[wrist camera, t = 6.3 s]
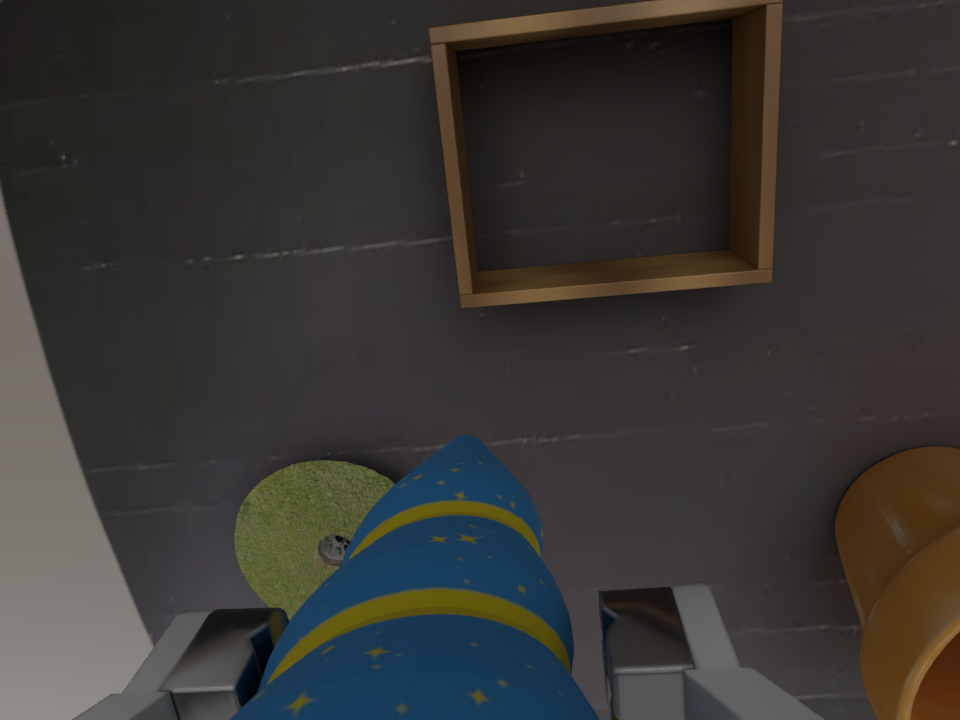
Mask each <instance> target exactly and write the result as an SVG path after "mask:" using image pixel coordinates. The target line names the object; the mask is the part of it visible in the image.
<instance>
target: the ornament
mask: <svg viewBox="0 0 960 720" xmlns="http://www.w3.org/2000/svg"><path fill="white" fill-rule="evenodd" d="M543 540H544V539H543V532H542V525H541V521H540V517H539V514H538V512H537V509H536V507H535V505H534V503H533V501H532V500H531V498H530V496H529V494H528V493H527V491H526V490H525V489H524V487H523V486H522V485H521V484H520V483H519V482H518V480H517V479H516V478H515V477H514V476H513V475H512V474H511V472H510V471H509V470H508V469H507V468H506V467H505V466H504V465H503V464H502V463H501V462H500V461H499V460H498V459H497V458H496V457H495V456H494V455H493V454H492V453H491V452H490V451H489V450H488V448H487V447H486V446H485V445H484V443H483V442H482V441H481V440H480V439H478V438H477V437H474V436H472V435H461V436H458V437H456V438H454V439H453V440H451V441H450V442H449V443H448V444H447V445H445V446H444V447H443V448H442V449H440V450H439V451H438V452H436V453H435V454H434V455H432V456H431V457H430V458H428V459H427V460H425V461H424V462H423V463H421V464H420V465H419V466H417V467H416V468H415V469H413V470H412V471H411V472H410V473H408V474H407V475H406V476H405V477H404V478H402V479H401V480H400V481H399V482H397V483H396V484H395V485H394V486H393V487H392V488H391V489H390V490H389V491H388V492H387V493H386V494H385V495H384V496H383V497H382V498H380V499H379V500H378V501H377V502H376V504H375V505H374V506H373V507H372V509H371V510H370V511H369V512H368V514H367V515H366V517H365V518H364V520H363V521H362V522H361V524H360V525H359V527H358V528H357V530H356V531H355V534H354V536H353V538H352V540H351V542H350V544H349V546H348V548H347V550H346V552H345V554H344V558H343V561H342V564H341V567H340V568H339V569H337V570H336V571H335V572H334V573H333V574H332V575H331V576H329V577H328V578H327V579H326V580H325V581H324V582H323V583H322V584H321V585H320V586H319V587H318V588H317V590H316V591H315V592H314V593H313V594H312V595H311V596H310V597H309V598H308V599H307V600H306V601H305V602H304V604H303V605H302V606H301V607H300V608H299V610H298V611H297V612H296V613H295V614H294V616H293V618H292V619H291V621H290V622H289V624H288V626H287V627H286V629H285V630H284V632H283V633H282V635H281V637H280V638H279V640H278V642H277V644H276V646H275V648H274V649H273V651H272V653H271V655H270V657H269V660H268V663H267V666H266V669H265V671H264V674H263V677H262V680H261V683H260V686H259V689H258V693H257V694H256V695H255V696H254V697H253V698H252V699H251V700H250V701H248V702H247V703H246V704H245V705H244V706H243V707H242V708H241V709H240V710H239V711H238V712H237V713H236V714H235V715H234V716H233V717H232V718H231V719H230V720H599V718H598V716H597V715H596V713H595V711H594V710H593V708H592V707H591V705H590V704H589V702H588V701H587V699H586V698H585V696H584V695H583V693H582V692H581V690H580V689H579V687H578V686H577V684H576V682H575V681H574V679H573V678H572V677H571V671H572V664H573V656H574V643H573V636H572V628H571V622H570V616H569V613H568V610H567V608H566V605H565V602H564V600H563V597H562V594H561V592H560V590H559V588H558V586H557V584H556V583H555V581H554V579H553V577H552V575H551V574H550V572H549V571H548V569H547V568H546V566H545V565H544V563H543V561H542V560H541V558H542V550H543Z"/></svg>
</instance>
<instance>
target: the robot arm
mask: <svg viewBox="0 0 960 720" xmlns="http://www.w3.org/2000/svg"><path fill="white" fill-rule="evenodd" d="M598 593H599V613H600V622H601V629H602V636H603V639H602V641H601V642H602V653H603V665H604V677H605V686H606V694H607V702H608V710H609V713H610V714H611V720H824V719H823V718H822V717H820V716H819V715H818V714H816V713H815V712H813V711H812V710H811V709H809V708H808V707H807V706H805V705H804V704H802V703H801V702H800V701H798V700H797V699H796V698H794V697H793V696H791V695H790V694H789V693H787V692H786V691H785V690H783V689H782V688H780V687H779V686H778V685H776V684H775V683H774V682H772V681H771V680H769V679H768V678H767V677H765V676H764V675H763V674H761V673H760V672H758V671H757V670H756V669H754V668H753V667H745V668H741V666H740V663H739V661H738V658H737V655H736V653H735V650H734V648H733V645H732V643H731V640H730V638H729V635H728V633H727V630H726V627H725V625H724V622H723V620H722V617H721V615H720V612H719V610H718V607H717V605H716V602H715V599H714V597H713V594H712V592H711V589H710V587H709V586H708V585H707V584H706V583H697V584H684V585H672V586H669V587H660V588H642V589H625V590H608V591H598ZM288 624H289V620H288V616H287V613H286V611H284V610H283V609H281V608H280V607H279V608H245V609H217V610H195V611H184V612H182V613H180V614H178V615H177V616H176V617H175V618H174V620H173V621H172V623H171V624H170V625H169V627H168V628H167V630H166V631H165V633H164V634H163V635H162V637H161V638H160V640H159V641H158V642H157V644H156V645H155V647H154V648H153V650H152V651H151V652H150V654H149V655H148V657H147V658H146V660H145V661H144V663H143V664H142V665H141V667H140V668H139V670H138V671H137V672H136V674H135V675H134V677H133V678H132V679H131V681H130V682H129V684H128V685H127V687H126V688H125V689H124V691H123V692H122V693H121V694H110V695H109V696H108V697H106V698H104V699H103V700H101V701H100V702H98V703H97V704H95V705H94V706H92V707H91V708H89V709H88V710H86V711H84V712H83V713H81V714H80V715H78V716H77V717H75V718H74V719H72V720H230V719H231V718H232V717H233V716H234V715H235V714H236V713H237V712H238V711H239V710H240V709H241V708H242V707H243V706H244V705H245V704H246V703H247V702H248V701H250V700H251V699H252V698H253V697H254V696H255V695H256V694H257V693H258V689H259V686H260V683H261V680H262V677H263V674H264V671H265V669H266V666H267V663H268V660H269V657H270V655H271V653H272V651H273V649H274V648H275V646H276V644H277V642H278V640H279V638H280V637H281V635H282V633H283V632H284V630H285V629H286V627H287V626H288Z"/></svg>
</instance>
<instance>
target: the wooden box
mask: <svg viewBox="0 0 960 720" xmlns="http://www.w3.org/2000/svg"><path fill="white" fill-rule="evenodd" d="M782 1H783V0H653V1H645V2H636V3H628V4H620V5H612V6H603V7H595V8H587V9H579V10H570V11H562V12H554V13H545V14H537V15H529V16H521V17H512V18H504V19H496V20H487V21H479V22H471V23H463V24H454V25H446V26H438V27H430V28H429V38H430V44H431V55H432V64H433V72H434V81H435V89H436V98H437V107H438V115H439V124H440V132H441V141H442V150H443V158H444V167H445V176H446V184H447V193H448V201H449V210H450V219H451V227H452V236H453V244H454V253H455V262H456V270H457V279H458V288H459V294H460V305H461V308H472V307H484V306H496V305H507V304H519V303H531V302H543V301H555V300H567V299H579V298H590V297H602V296H614V295H626V294H638V293H650V292H661V291H673V290H685V289H697V288H709V287H721V286H733V285H744V284H756V283H768V282H772V268H773V247H774V221H775V195H776V168H777V142H778V116H779V90H780V64H781V38H782V11H783V3H782ZM726 19H733V24H732V84H731V144H730V204H729V249H728V250H717V251H706V252H694V253H683V254H672V255H661V256H649V257H638V258H627V259H616V260H604V261H593V262H582V263H571V264H559V265H548V266H537V267H526V268H515V269H503V270H492V271H481V272H478V271H479V267H478V258H477V248H476V239H475V229H474V220H473V210H472V201H471V191H470V182H469V172H468V163H467V153H466V144H465V134H464V125H463V115H462V106H461V96H460V87H459V77H458V68H457V58H456V52H455V51H462V50H470V49H479V48H487V47H496V46H504V45H513V44H521V43H530V42H538V41H547V40H555V39H564V38H572V37H581V36H589V35H598V34H606V33H615V32H624V31H632V30H641V29H649V28H658V27H666V26H675V25H683V24H692V23H700V22H709V21H717V20H726Z"/></svg>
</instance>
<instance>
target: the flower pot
mask: <svg viewBox="0 0 960 720" xmlns="http://www.w3.org/2000/svg"><path fill="white" fill-rule="evenodd" d="M835 538H836V542H837V546H838V551H839V554H840V558H841V561H842V565H843V568H844V572H845V575H846V578H847V581H848V584H849V588H850V591H851V594H852V597H853V601H854V604H855V607H856V610H857V614H858V617H859V620H860V623H861V626H862V629H863V635H862V639H861V647H860V669H861V676H862V680H863V685H864V688H865V691H866V694H867V697H868V699H869V701H870V704H871V706H872V708H873V710H874V712H875V714H876V717H877V719H878V720H960V449H956V448H951V447H942V446H934V447H920V448H915V449H910V450H906V451H902V452H900V453H897V454H895V455H892V456H890V457H888V458H886V459H884V460H882V461H880V462H878V463H876V464H875V465H874V466H872V467H870V468H869V469H868V470H866V471H865V472H864V473H863V474H862V475H860V476H859V477H858V478H857V479H856V480H855V482H854V483H853V484H852V485H851V486H850V488H849V489H848V490H847V492H846V493H845V495H844V497H843V499H842V501H841V503H840V505H839V508H838V510H837V514H836V520H835Z"/></svg>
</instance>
